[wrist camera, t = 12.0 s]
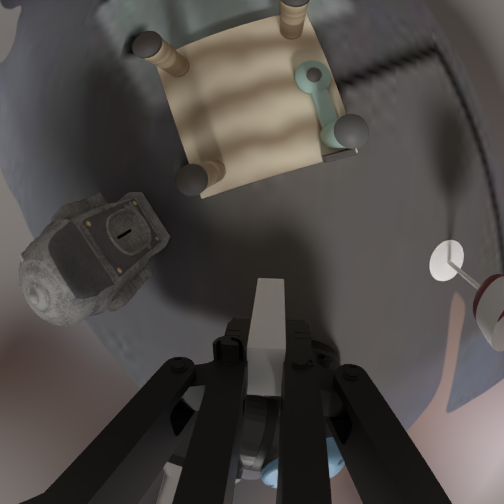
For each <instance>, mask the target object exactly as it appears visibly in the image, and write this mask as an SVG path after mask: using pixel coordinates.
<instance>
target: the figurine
mask: <svg viewBox="0 0 504 504" xmlns="http://www.w3.org/2000/svg"><path fill="white" fill-rule="evenodd" d="M129 229H131V232H130V233H128V234H127V232H126V231H128V230H129ZM169 238H170V235H169V234H168V232H167V231H166V229H165V228H164V226H163V225H162V223H161V221H160V219H159V218H158V217H157V215H156V214H155V212H154V210H153V209H152V207H151V205H150V204H149V202H148V200H147V199H146V198H145V196H144V194H143V192H129V193H127V194H126V195H124V196H123V197H122V198H121V199H120V200H119V201H118V202H115V203H109V204H108V202H107V201H106V199H105V198H104V197H103V195H102V194H101V193H100V192H99V193H98V194H96V195H94V196H92V197H89V198H86V199H83V200H81V201H76V202H73V203H70V204H67V205H65V206H63V207H61V208H60V209H59V210H58V211H57V212H56V214H55V215H54V216H53V217H52V219H51V223H50V224H49V225H48V226H47V227H46V228H45V229H44V230H43V232H42V234H41V235H40V236H39V237H38V238H36V239H35V240H34V241H33V242H32V243H30V245H29V246H28V247H27V248H26V250H25V251H24V252H23V253H22V254H21V255H20V260H21V262H20V268H19V276H20V286H21V289H22V292H23V294H24V297H25V299H26V301H27V303H28V304H29V306H30V308H31V309H32V310H33V311H34V312H35V313H36V314H37V315H38V316H39V317H41V318H42V319H44V320H46V321H47V322H49V323H51V324H54V325H59V326H67V327H70V326H72V325H74V324H77V323H79V322H81V321H83V320H85V319H87V318H88V317H89V316H93V315H97V314H100V313H103V312H104V311H105V310H106V309H107V308H108V309H109V310H110V311H116V310H118V309H119V308H121V307H123V306H124V305H126V304H127V303H128V302H129V300H130V299H131V298H132V297H133V296H134V295H135V293H136V292H137V290H139V289H140V287H141V286H142V285H143V284H144V282H145V281H146V280H147V279H149V278H150V277H151V276H153V274H152V269H151V267H150V266H149V264H148V260H149V258H150V257H152V256H153V255H155V254H156V253H158V252H159V251H161V250H162V249H163V248H165V247H166V245H167V243H168V241H169Z"/></svg>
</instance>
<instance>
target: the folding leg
mask: <svg viewBox="0 0 504 504" xmlns="http://www.w3.org/2000/svg"><path fill="white" fill-rule="evenodd" d="M312 67H315V68H318V69H319V70H320V71H321V72H322V77H321V79H320V80H319V81H318V82H311V81H309V80H308V79H307V77H306V74H307V71H308V69H310V68H312ZM330 82H331V74H330V71H329V69H328V68H327V67H326V66H325V65H324V64H322V63H321V62H318V61H314V60H310V61H305V62H303V63H302V64H300V65H299V66H298V68H297V70H296V74H295V83H296V85H297V87H298V88H299V89H300V90H301V91H302V92H303V93H305V94H308V95H310V97H311V99H312V102H313V104H314V107H315V110H316V113H317V115H318V118H319V121H320V124H321V127H322V130H321V133H320V137H321V140H322V142H323V143H324V144H325V145H326V146H328V147H331V148H349V149H356V148H360V147H362V146H363V145H364V144H365V143H366V142H367V140H368V138H369V127H368V125H367V123H366V122H365V120H364V119H363V118H361V117H360V116H358V115H355V114H346V115H344V116H342V117H340V118H339V119H338V118H337V116H336V113H335V110H334V107H333V104H332V102H331V99H330V96H329V94H328V91H327V89H326V88H327V87H328V86H329V84H330Z"/></svg>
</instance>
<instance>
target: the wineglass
mask: <svg viewBox="0 0 504 504" xmlns="http://www.w3.org/2000/svg"><path fill="white" fill-rule="evenodd" d="M463 257H464V253H463V249H462V247H461V245H460V244H459V243H458V242H457V241H454V240H447V241H444V242H442V243H441V244H439V245H438V246H437V247H436V248H435V250H434V252H433V253H432V255H431V259H430V272H431V274H432V276H433V277H434V278H435V279H436V280H438V281H446V280H449V279H451V278H453V277H454V276H455V275H456V274H457V273H459V274H460V275H461V276H462V277H464V278H465V279H466V280H467V281H468V282H469V283H470V284H472V285H473V286H474V287H475V288H476V289H477V290H478V291H477V293H476V295H475V298H474V302H473V314H474V317H475V320H476V322H477V324H478V326H479V328H480V330H481V331H482V333H483V335H484V336H485V338H486V340H487V341H488V342H489V344H490V345H491V346H492V347H493V349H494V350H495V351H504V275H502V274H496V275H492V276H490V277H489V278H487V279H486V280H485V281H484V282H483V283H482V284H481V286H480V285H479V284H478V283H477V282H476V281H475V280H473V279H472V278H471V277H470V276H469V275H467V274H466V273H465V272H464V271H463V270H461V269H460V268H461V266H462V263H463Z"/></svg>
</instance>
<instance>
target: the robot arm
mask: <svg viewBox="0 0 504 504" xmlns="http://www.w3.org/2000/svg"><path fill="white" fill-rule="evenodd" d="M213 354H214V360H213V361H212V362H209V363H206V364H199V365H194V363H193V361H192V360H190V359H188V358H185V357H174V358H172V359H169V360H168V361H166V362H165V363H164V364H163V365H162V366H161V367H160V369H159V370H158V371H157V372H156V373H155V374H154V375H153V376H152V377H151V378H150V379H149V381H148V382H147V383H146V384H145V385H144V386H143V387H142V388H141V389H140V391H138V393H137V394H136V395H135V396H134V397H133V398H132V399H131V400H130V402H128V403H127V405H126V406H125V407H124V408H123V409H122V410H121V411H120V412H119V413H118V414H117V415H116V416H115V418H114V419H113V420H112V421H111V422H110V423H109V424H108V425H107V426H106V427H105V428H104V429H103V431H102V432H101V433H100V434H99V435H98V436H97V437H96V438H95V439H94V440H93V441H92V442H91V444H90V445H89V446H88V447H87V448H86V449H85V450H84V451H83V452H82V453H81V454H80V455H79V456H78V457H77V458H76V459H75V461H74V462H73V463H72V464H71V465H70V466H69V467H68V468H67V469H66V470H65V471H64V472H63V473H62V474H61V476H59V478H58V479H57V480H56V481H55V482H54V483H53V484H52V485H51V486H50V487H49V488H48V489H47V490H46V491H45V492H44V493H43V494H40V495H38V496H36V497H34V498H31V499H29V500H27V501H24V502H22V503H19V504H137V503H138V502H139V501H140V500H141V498H142V497H143V495H144V494H145V493H146V491H147V490H148V488H149V487H150V486H151V484H152V483H153V481H154V480H155V478H156V477H157V475H158V474H159V473H160V471H161V470H162V469H163V468H164V470H165V475H164V479H163V482H162V486H161V490H160V493H159V497H158V500H157V504H232V501H233V494H234V488H235V483H237V482H239V481H240V480H241V476H242V472H243V470H244V469H247V470H253V471H259V472H260V477H261V478H262V481H263V482H264V483H265V484H266V485H270V486H271V487H273V488H277V497H276V504H332V503H331V489H330V478H331V477H333V476H334V475H336V474H337V473H338V472H339V471H340V470H341V469H342V467H343V466H344V463H345V465H346V467H347V469H348V471H349V473H350V476H351V478H352V480H353V482H354V485H355V487H356V489H357V491H358V493H359V495H360V498H361V500H362V502H363V504H452V503H451V501H450V500H449V498H448V496H447V495H446V493H445V492H444V490H443V488H442V487H441V485H440V483H439V482H438V480H437V479H436V478H435V476H434V474H433V472H432V471H431V469H430V468H429V466H428V465H427V463H426V461H425V460H424V458H423V457H422V455H421V454H420V452H419V451H418V449H417V448H416V446H415V444H414V443H413V441H412V440H411V438H410V437H409V436H408V434H407V432H406V431H405V429H404V428H403V426H402V425H401V423H400V422H399V420H398V419H397V417H396V416H395V414H394V413H393V411H392V410H391V408H390V407H389V405H388V404H387V402H386V401H385V399H384V398H383V396H382V395H381V393H380V392H379V390H378V389H377V387H376V386H375V384H374V383H373V381H372V380H371V379H370V377H369V376H368V374H367V373H366V371H365V370H364V369H363V368H361V367H359V366H357V365H353V364H344V365H342V366H341V364H340V360H339V358H338V356H337V354H336V353H335V352H334V351H333V350H332V349H331V348H330V347H328V346H326V345H324V344H322V343H319V342H315V341H311V339H310V331H309V326H308V325H307V323H306V322H305V321H304V320H285V295H284V279H270V278H258V282H257V288H256V294H255V301H254V307H253V313H252V319H239V318H233V319H232V320H231V321H230V322H229V323H228V325H227V328H226V332H225V336H222V337H219V338H217V339H216V340H215V341H214V342H213ZM259 395H264V396H265V397H264V396H259Z"/></svg>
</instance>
